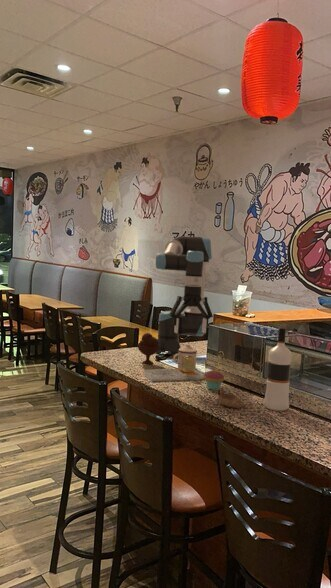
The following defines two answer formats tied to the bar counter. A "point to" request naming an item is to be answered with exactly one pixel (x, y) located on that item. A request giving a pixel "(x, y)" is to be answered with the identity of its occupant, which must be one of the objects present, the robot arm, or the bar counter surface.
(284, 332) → the vodka
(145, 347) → the ice cream bowl
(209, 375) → the cupcake
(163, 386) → the bar counter surface
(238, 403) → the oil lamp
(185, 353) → the teacup with lid
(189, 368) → the beige upright block
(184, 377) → the grey flat slab
